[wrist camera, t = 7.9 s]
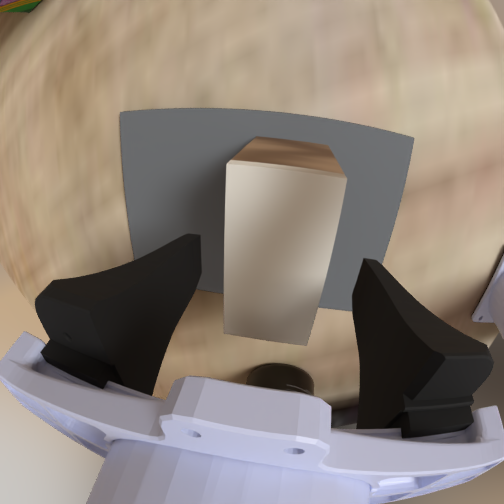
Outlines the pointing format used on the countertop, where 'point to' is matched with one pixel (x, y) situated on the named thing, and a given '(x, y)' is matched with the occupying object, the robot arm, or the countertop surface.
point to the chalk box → (18, 5)
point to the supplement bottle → (282, 378)
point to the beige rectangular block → (279, 237)
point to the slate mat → (214, 183)
